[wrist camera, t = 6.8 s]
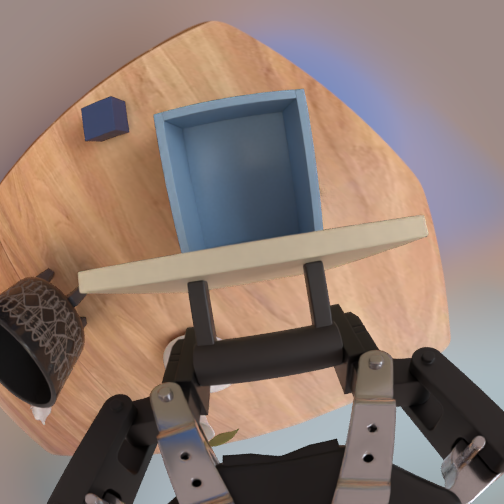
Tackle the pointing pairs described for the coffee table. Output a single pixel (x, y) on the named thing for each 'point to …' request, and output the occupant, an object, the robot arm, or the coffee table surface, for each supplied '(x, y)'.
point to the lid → (251, 271)
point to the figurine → (40, 413)
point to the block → (104, 119)
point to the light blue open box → (240, 169)
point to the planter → (39, 338)
